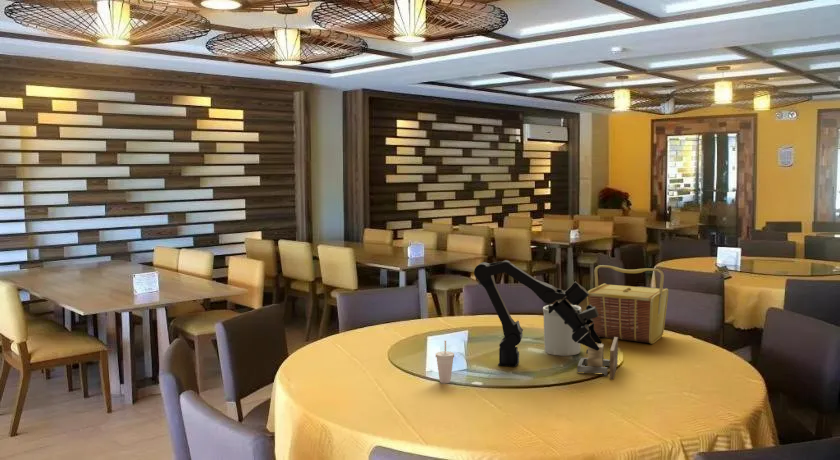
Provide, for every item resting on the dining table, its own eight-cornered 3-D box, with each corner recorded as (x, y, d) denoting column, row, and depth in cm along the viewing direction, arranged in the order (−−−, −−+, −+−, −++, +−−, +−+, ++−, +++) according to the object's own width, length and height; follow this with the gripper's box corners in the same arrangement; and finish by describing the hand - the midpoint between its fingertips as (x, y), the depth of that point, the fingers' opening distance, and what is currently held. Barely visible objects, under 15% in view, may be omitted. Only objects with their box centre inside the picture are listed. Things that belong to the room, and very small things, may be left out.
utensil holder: (538, 354, 277) (539, 309, 275) (547, 345, 290) (547, 302, 289) (577, 357, 271) (577, 312, 270) (583, 348, 285) (584, 304, 283)
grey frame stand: (575, 376, 248) (575, 347, 247) (582, 361, 266) (582, 334, 266) (613, 379, 243) (613, 350, 243) (617, 363, 262) (617, 337, 261)
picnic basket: (670, 335, 305) (671, 265, 303) (654, 348, 284) (656, 273, 281) (603, 327, 321) (604, 260, 318) (583, 339, 299) (584, 268, 297)
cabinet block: (585, 371, 254) (586, 346, 253) (587, 367, 258) (587, 342, 258) (602, 372, 252) (602, 347, 251) (603, 368, 257) (603, 344, 256)
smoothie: (456, 379, 245) (456, 339, 244) (451, 385, 239) (451, 344, 238) (439, 378, 247) (438, 338, 246) (433, 383, 241) (432, 342, 240)
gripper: (581, 304, 245) (614, 337, 243) (587, 294, 263) (618, 326, 260) (558, 325, 249) (590, 358, 246) (565, 314, 266) (596, 345, 264)
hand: (599, 346), depth 254 cm, fingers open, 9 cm apart
